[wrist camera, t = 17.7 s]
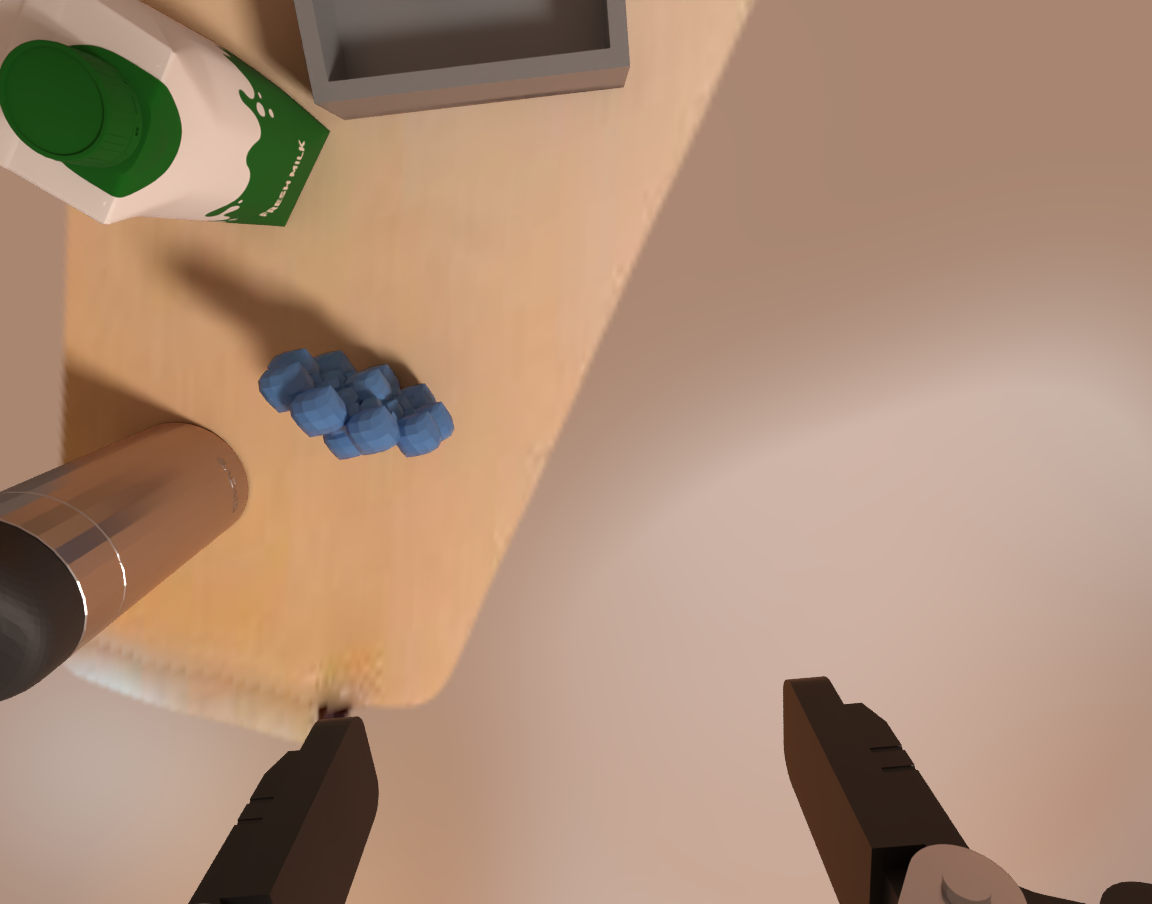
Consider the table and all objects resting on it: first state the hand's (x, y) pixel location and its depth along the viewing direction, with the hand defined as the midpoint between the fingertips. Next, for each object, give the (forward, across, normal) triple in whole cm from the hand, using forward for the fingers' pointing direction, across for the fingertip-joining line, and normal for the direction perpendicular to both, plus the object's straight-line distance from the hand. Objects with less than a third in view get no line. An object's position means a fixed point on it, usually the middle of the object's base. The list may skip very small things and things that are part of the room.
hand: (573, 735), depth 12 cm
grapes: (+36, +14, 0) cm, 39 cm away
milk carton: (+36, +19, -17) cm, 44 cm away
